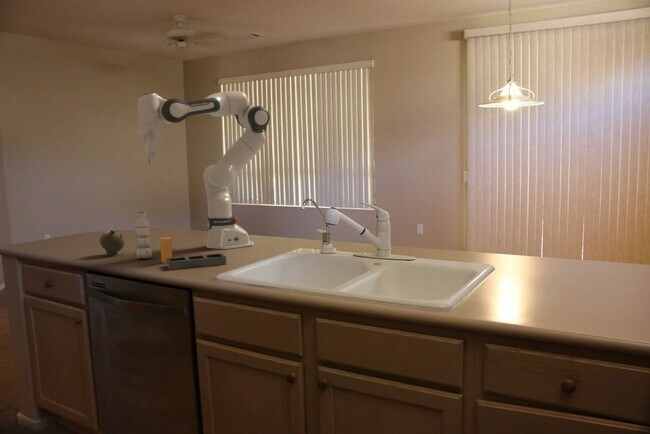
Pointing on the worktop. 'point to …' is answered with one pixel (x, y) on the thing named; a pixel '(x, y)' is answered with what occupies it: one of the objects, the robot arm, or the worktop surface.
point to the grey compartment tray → (195, 261)
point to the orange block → (166, 248)
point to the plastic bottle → (143, 236)
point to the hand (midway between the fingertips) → (151, 163)
